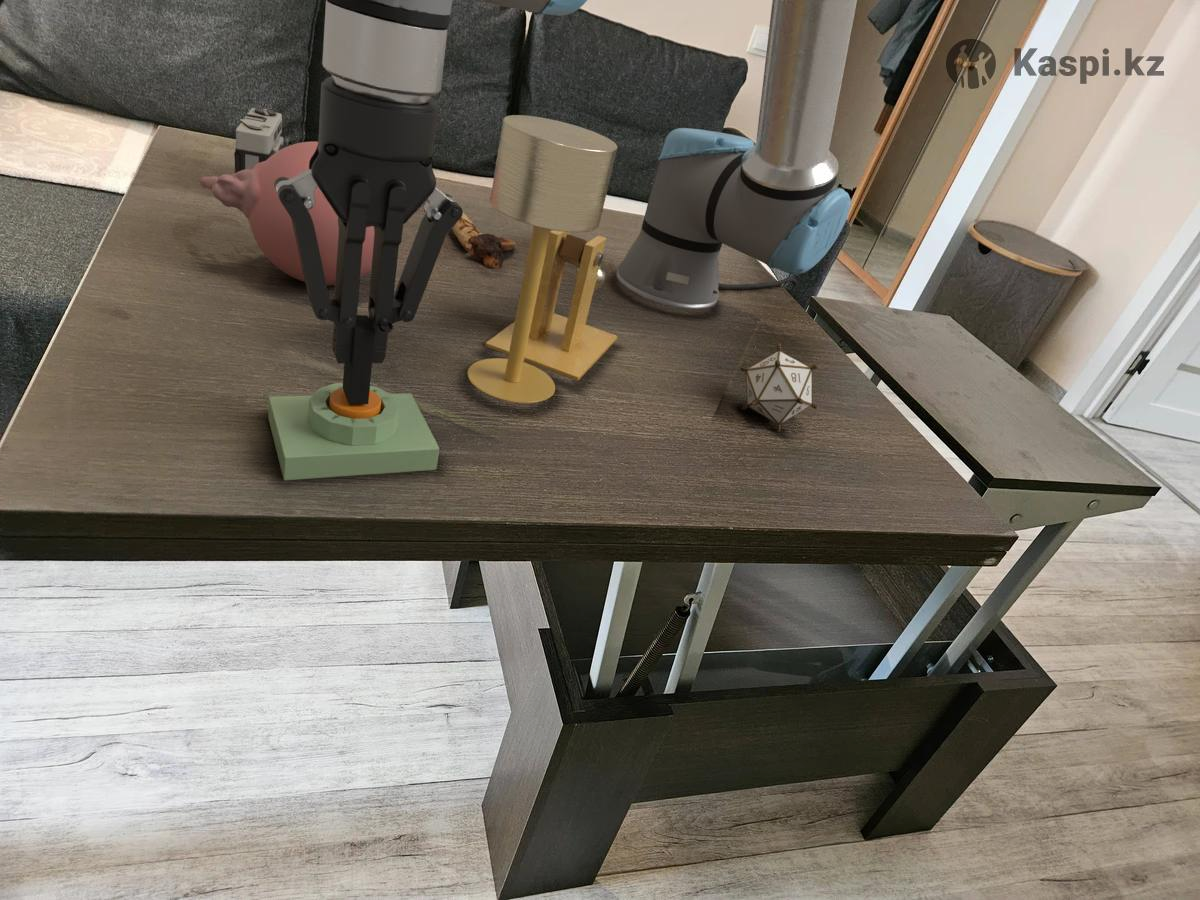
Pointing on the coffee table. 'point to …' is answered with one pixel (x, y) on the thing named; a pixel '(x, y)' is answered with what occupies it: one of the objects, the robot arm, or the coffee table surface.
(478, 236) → the lashed bone hook
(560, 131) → the desk lamp
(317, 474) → the switch box
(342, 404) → the orange switch button
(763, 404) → the game die
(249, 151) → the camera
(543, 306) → the bracket
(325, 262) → the balloon
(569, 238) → the lamp switch
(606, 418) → the coffee table surface
